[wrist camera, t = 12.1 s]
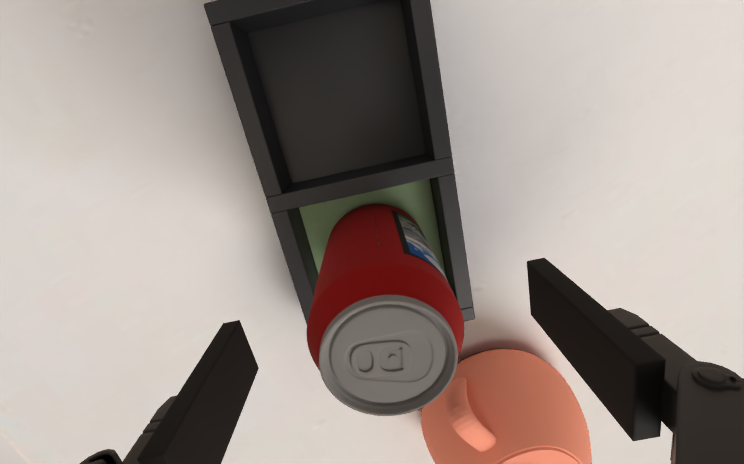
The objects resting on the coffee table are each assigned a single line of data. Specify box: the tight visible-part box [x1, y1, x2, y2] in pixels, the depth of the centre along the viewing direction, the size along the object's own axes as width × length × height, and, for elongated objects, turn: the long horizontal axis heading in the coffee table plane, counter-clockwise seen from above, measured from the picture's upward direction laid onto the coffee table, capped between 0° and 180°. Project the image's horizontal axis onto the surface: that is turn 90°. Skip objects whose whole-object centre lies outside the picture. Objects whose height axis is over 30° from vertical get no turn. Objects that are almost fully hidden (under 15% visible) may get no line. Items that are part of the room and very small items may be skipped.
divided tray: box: [204, 0, 475, 324], centre depth 22 cm, size 21×11×4 cm, turn 12°
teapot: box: [421, 349, 592, 464], centre depth 26 cm, size 12×18×10 cm
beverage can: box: [307, 204, 464, 416], centre depth 19 cm, size 7×7×12 cm
